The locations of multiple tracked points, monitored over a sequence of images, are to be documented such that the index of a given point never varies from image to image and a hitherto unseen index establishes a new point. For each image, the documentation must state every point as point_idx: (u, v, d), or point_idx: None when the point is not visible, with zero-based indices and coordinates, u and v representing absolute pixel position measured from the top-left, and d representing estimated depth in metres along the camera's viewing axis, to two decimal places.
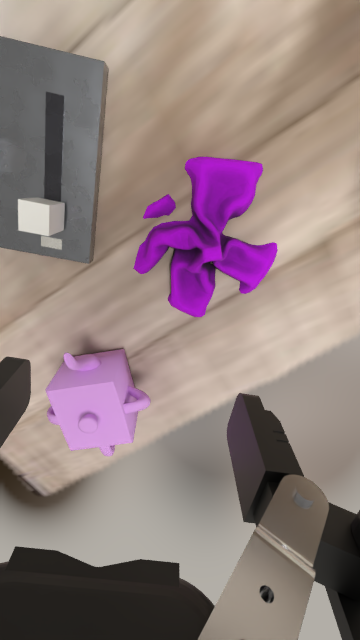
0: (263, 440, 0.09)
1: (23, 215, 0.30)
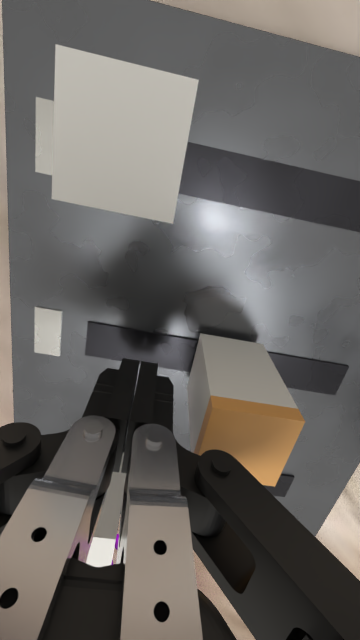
0: (141, 397, 0.10)
1: None
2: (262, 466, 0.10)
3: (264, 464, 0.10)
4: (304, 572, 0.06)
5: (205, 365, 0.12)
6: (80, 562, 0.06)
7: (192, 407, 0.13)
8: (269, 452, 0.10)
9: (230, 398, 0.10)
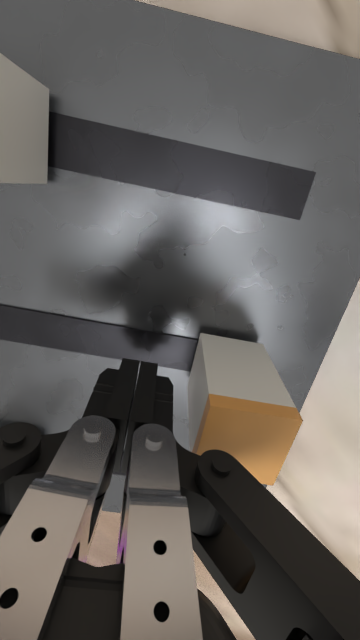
0: (141, 397, 0.10)
1: None
2: (260, 465, 0.10)
3: (262, 463, 0.10)
4: (304, 572, 0.06)
5: (204, 364, 0.12)
6: (80, 562, 0.06)
7: (191, 406, 0.13)
8: (267, 450, 0.10)
9: (228, 396, 0.10)
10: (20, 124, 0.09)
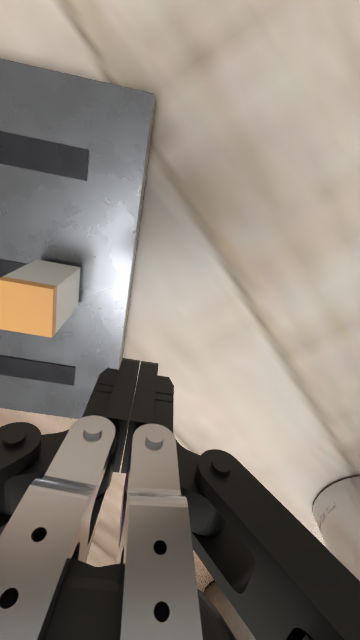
0: (141, 397, 0.10)
1: None
2: (39, 322, 0.17)
3: (39, 320, 0.17)
4: (304, 572, 0.06)
5: (18, 269, 0.19)
6: (80, 562, 0.06)
7: None
8: (39, 311, 0.17)
9: (14, 278, 0.17)
10: None
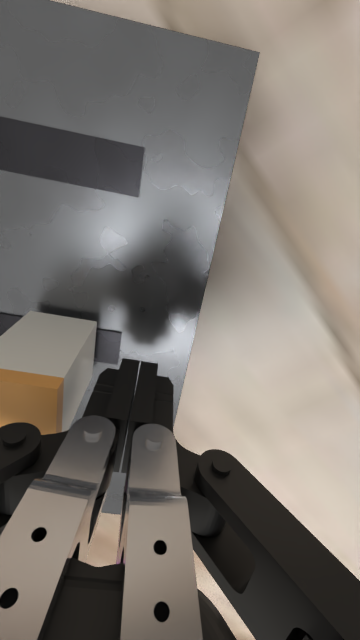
0: (141, 397, 0.10)
1: None
2: None
3: None
4: (304, 572, 0.06)
5: None
6: (80, 562, 0.06)
7: None
8: (33, 422, 0.10)
9: None
10: None
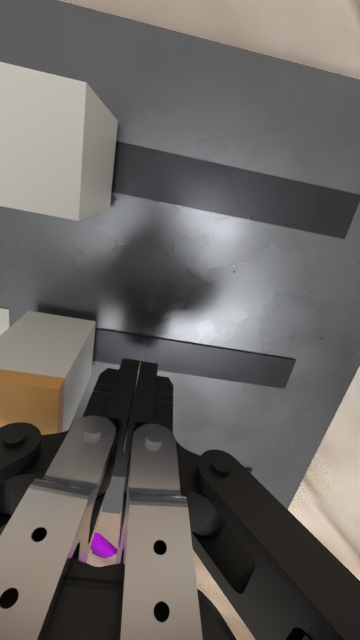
0: (141, 397, 0.10)
1: None
2: None
3: None
4: (304, 572, 0.06)
5: None
6: (80, 562, 0.06)
7: None
8: (34, 422, 0.10)
9: None
10: (102, 159, 0.10)
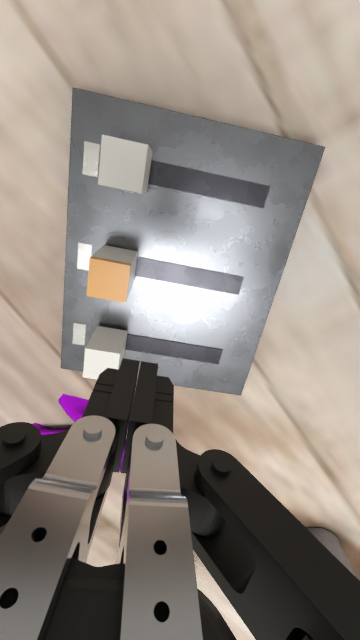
0: (141, 397, 0.10)
1: (102, 356, 0.26)
2: (117, 291, 0.23)
3: (117, 289, 0.23)
4: (304, 572, 0.06)
5: (97, 251, 0.24)
6: (80, 562, 0.06)
7: None
8: (118, 282, 0.23)
9: (100, 257, 0.23)
10: (147, 169, 0.23)
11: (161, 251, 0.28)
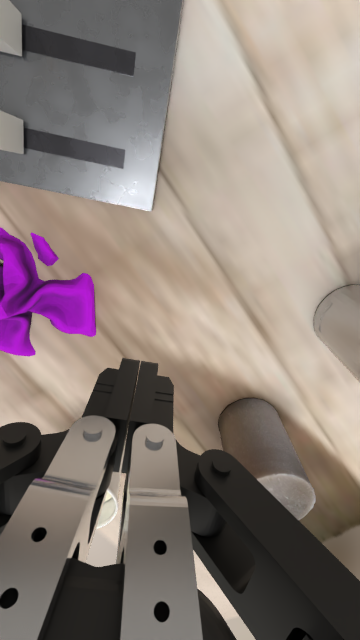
0: (141, 397, 0.10)
1: None
2: None
3: None
4: (304, 572, 0.06)
5: None
6: (80, 562, 0.06)
7: None
8: None
9: None
10: None
11: (47, 18, 0.27)
